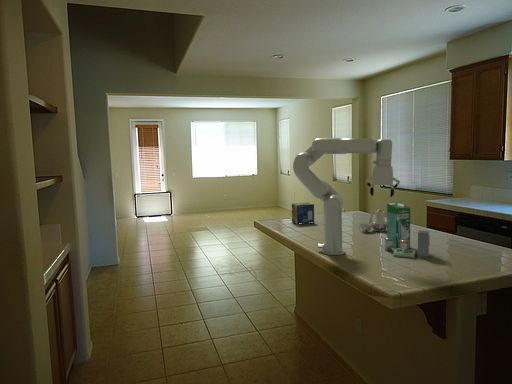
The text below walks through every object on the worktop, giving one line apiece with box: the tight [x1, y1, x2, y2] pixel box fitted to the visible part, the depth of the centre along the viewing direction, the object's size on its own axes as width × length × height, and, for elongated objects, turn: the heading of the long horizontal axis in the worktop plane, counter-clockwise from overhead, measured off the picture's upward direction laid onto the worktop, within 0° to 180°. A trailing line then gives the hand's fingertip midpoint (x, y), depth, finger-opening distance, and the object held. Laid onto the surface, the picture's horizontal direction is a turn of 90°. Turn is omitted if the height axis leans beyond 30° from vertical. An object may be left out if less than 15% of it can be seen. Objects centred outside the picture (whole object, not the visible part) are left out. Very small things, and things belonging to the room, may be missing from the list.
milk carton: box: [386, 201, 411, 250], centre depth 218 cm, size 9×9×25 cm
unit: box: [417, 230, 431, 259], centre depth 197 cm, size 5×7×13 cm
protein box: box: [291, 202, 315, 225], centre depth 304 cm, size 10×15×16 cm
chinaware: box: [358, 207, 387, 233], centre depth 261 cm, size 28×17×17 cm, turn 76°
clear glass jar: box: [384, 236, 393, 252], centre depth 211 cm, size 4×4×7 cm
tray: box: [393, 248, 417, 259], centre depth 201 cm, size 10×10×2 cm
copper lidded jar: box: [400, 240, 409, 253], centre depth 200 cm, size 4×4×7 cm
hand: (381, 196), depth 199 cm, fingers open, 9 cm apart
